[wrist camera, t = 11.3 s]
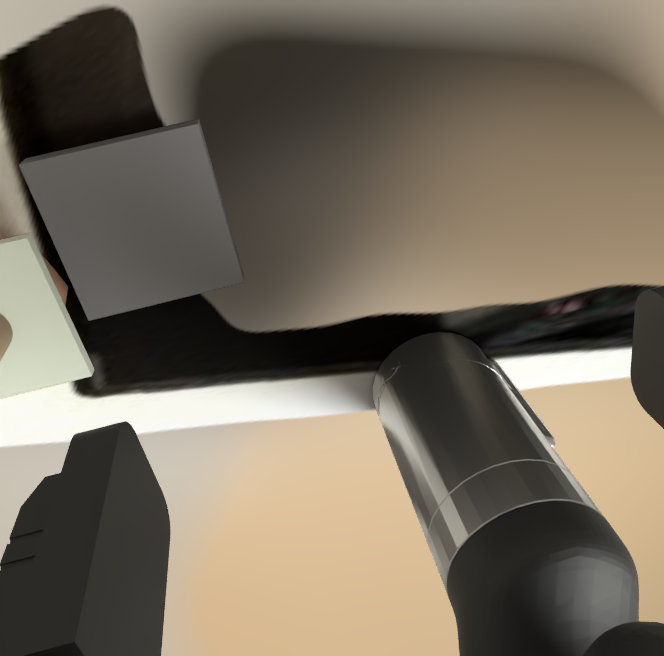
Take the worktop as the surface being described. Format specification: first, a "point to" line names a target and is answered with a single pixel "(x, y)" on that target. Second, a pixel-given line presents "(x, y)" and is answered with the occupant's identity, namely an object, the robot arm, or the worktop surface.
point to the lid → (34, 324)
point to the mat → (136, 218)
